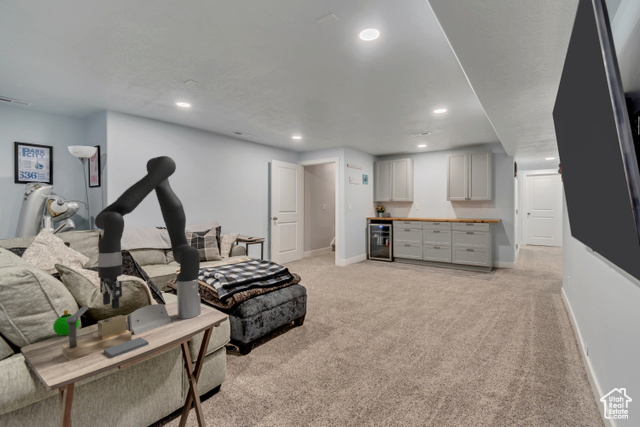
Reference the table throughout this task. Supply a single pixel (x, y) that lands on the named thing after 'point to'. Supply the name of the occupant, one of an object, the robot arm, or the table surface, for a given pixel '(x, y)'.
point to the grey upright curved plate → (147, 318)
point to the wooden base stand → (90, 343)
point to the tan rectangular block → (111, 327)
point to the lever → (76, 315)
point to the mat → (125, 347)
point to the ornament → (63, 324)
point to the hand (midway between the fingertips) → (111, 306)
